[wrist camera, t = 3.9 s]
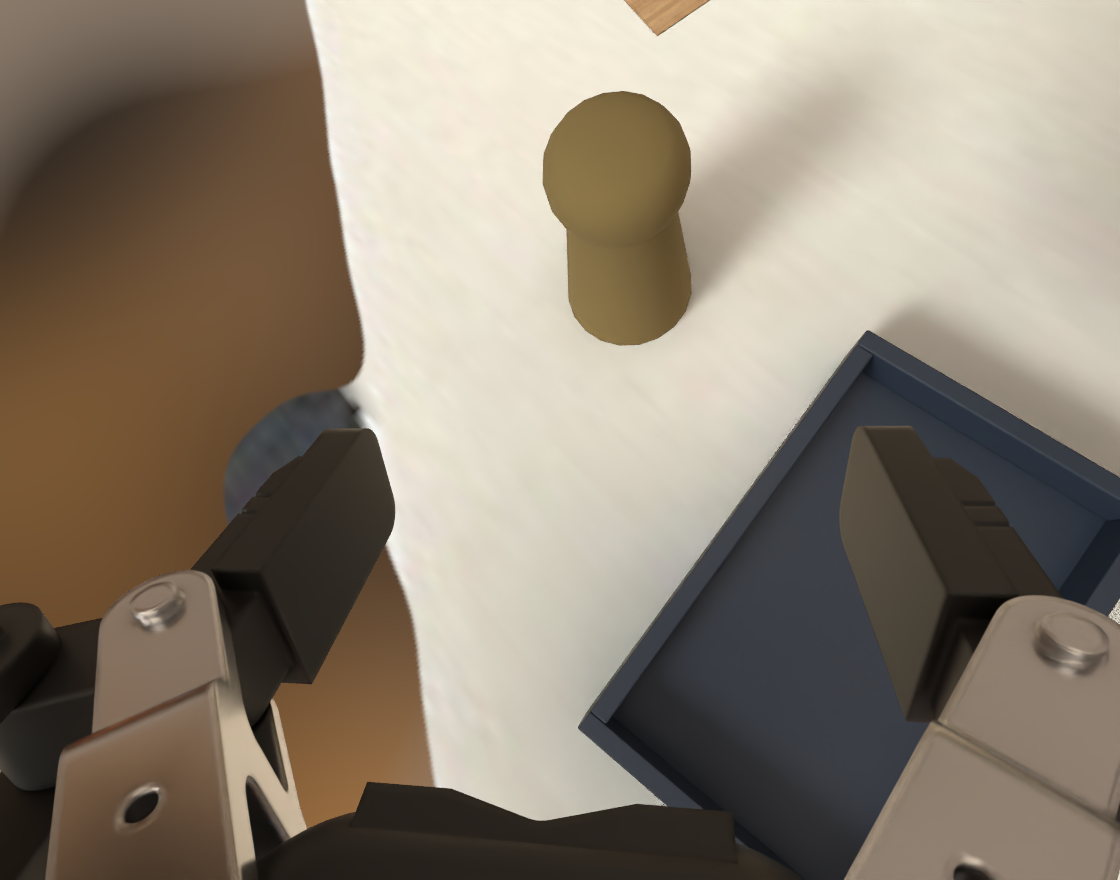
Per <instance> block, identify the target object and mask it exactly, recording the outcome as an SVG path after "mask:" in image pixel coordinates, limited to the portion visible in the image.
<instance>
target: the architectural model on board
mask: <svg viewBox="0 0 1120 880" xmlns="http://www.w3.org/2000/svg"><path fill="white" fill-rule="evenodd" d="M625 1H626V2H627V3H628V4H629V5H630V7H631V8H632V9H633V10H634V11H635V12H636V13H637V14H638V15H639V16H640V18H641V19H642V20H643V21H644V22H645V23H646V24H647V25H648V26H649V27H650V29H651V30H652V31H653V32H654V33H655V34H656V35H659V34H660V33H662V32H663V31H665V30H666V29H668V28H669V27H670V26H672V25H673V24H675V23H676V22H678V21H679V20H681V19H682V18H684V17H685V16H687V15H688V14H690V13H691V12H692V11H694V10H695V9H697V8H698V7H700V6H701V5H703V4H704V3H706V2H707V1H709V0H625Z"/></svg>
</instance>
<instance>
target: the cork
mask: <svg viewBox="0 0 1120 880" xmlns="http://www.w3.org/2000/svg"><path fill="white" fill-rule="evenodd" d="M690 178H691V153H690V148H689V145H688V142H687V139H686V137H685V134H684V132H683V130H682V127H681V125H680V123H679V121H678V120H677V119H676V118H675V117H674V116H673V115H672V114H671V113H670V112H669V111H668V110H667V109H666V108H665V107H664V106H663V105H661V104H660V103H658V102H656V101H654V100H652V99H650V98H648V97H646V96H645V95H642V94H637V93H631V92H625V91H620V92H610V93H602V94H600V95H597V96H594V97H592V98H589V99H587V100H584V101H583V102H581V103H580V104H579V105H577V106H576V107H574V108H573V109H572V110H570V111H569V112H568V113H567V114H566V115H565V117H564V118H563V119H562V120H561V122H560V123H559V124H558V126H557V127H556V128H555V130H554V131H553V132H552V134H551V136H550V139H549V141H548V144H547V147H546V149H545V152H544V159H543V186H544V189H545V192H546V195H547V198H548V201H549V204H550V207H551V210H552V212H553V213H554V215H555V216H556V217H557V218H558V219H559V221H560V222H561V223H562V224H563V225H564V227H565V228H566V229H567V260H568V293H569V302H570V305H571V308H572V311H573V314H574V316H575V318H576V319H577V320H578V321H579V323H580V324H581V325H582V327H583V328H584V329H585V330H586V331H587V332H589V333H590V334H592V335H593V336H595V337H597V338H598V339H600V340H601V341H605V342H609V343H613V344H616V345H640V344H642V343H645V342H648V341H651V340H654V339H657V338H659V337H660V336H662V335H663V334H664V333H666V332H667V331H669V330H670V329H671V328H673V327H674V326H675V325H676V323H677V322H678V321H679V319H680V318H681V317H682V315H683V314H684V312H685V311H686V308H687V305H688V302H689V299H690V296H691V274H690V269H689V264H688V259H687V254H686V249H685V244H684V239H683V234H682V229H681V224H680V219H679V214H678V211H679V209H680V208H681V206H682V204H683V202H684V199H685V196H686V193H687V190H688V187H689V184H690Z"/></svg>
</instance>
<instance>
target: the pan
mask: <svg viewBox="0 0 1120 880" xmlns="http://www.w3.org/2000/svg"><path fill="white" fill-rule="evenodd" d="M859 426H912V427H913V428H914V429H915V431H916V432H917V434H918V435H919V437H920V438H921V440H922V442H923V443H924V445H925V446H926V448H927V449H928V451H929V453H930V454H931V456H932V457H933V458H951V459H952V460H953V461H955V462H956V463H958V464H959V465H961V466H962V467H963V468H965V469H966V470H968V471H969V472H971V473H972V474H974V475H975V476H976V477H978V478H979V479H980V481H981V482H982V484H983V485H984V486H985V488H986V489H987V491H988V492H989V493H990V495H991V496H992V498H993V499H994V501H995V506H996V507H999V508H1000V509H1001V510H1002V512H1003V513H1004V515H1005V516H1006V518H1007V519H1008V520H1009V526H1010V527H1014V529H1015V530H1016V532H1017V533H1018V535H1019V536H1020V537H1021V539H1022V540H1023V542H1024V543H1025V544H1026V546H1027V547H1028V549H1029V550H1030V552H1031V553H1032V554H1033V556H1034V557H1035V559H1036V560H1037V561H1038V563H1039V564H1040V566H1041V567H1042V569H1043V570H1044V571H1045V573H1046V574H1047V576H1048V577H1049V578H1050V580H1051V581H1052V583H1053V584H1054V586H1055V587H1056V588H1057V590H1058V591H1059V593H1060V594H1061V595H1062V597H1063V598H1064V599H1066V600H1070V601H1073V602H1076V603H1079V604H1082V605H1084V606H1087V607H1089V608H1091V609H1094V610H1096V611H1098V612H1100V613H1102V614H1103V615H1105V616H1107V617H1108V615H1109V614H1110V612H1111V611H1112V609H1113V608H1114V606H1115V605H1116V603H1117V602H1118V600H1119V599H1120V477H1118V476H1116V475H1114V474H1113V473H1111V472H1109V471H1108V470H1106V469H1104V468H1103V467H1101V466H1099V465H1097V464H1096V463H1094V462H1092V461H1091V460H1089V459H1087V458H1085V457H1084V456H1082V455H1080V454H1079V453H1077V452H1075V451H1074V450H1072V449H1070V448H1068V447H1067V446H1065V445H1063V444H1062V443H1060V442H1058V441H1057V440H1055V439H1053V438H1051V437H1050V436H1048V435H1046V434H1045V433H1043V432H1041V431H1039V430H1038V429H1036V428H1034V427H1033V426H1031V425H1029V424H1028V423H1026V422H1024V421H1022V420H1021V419H1019V418H1017V417H1016V416H1014V415H1012V414H1010V413H1009V412H1007V411H1005V410H1004V409H1002V408H1000V407H999V406H997V405H995V404H993V403H992V402H990V401H988V400H987V399H985V398H983V397H981V396H980V395H978V394H976V393H975V392H973V391H971V390H970V389H968V388H966V387H964V386H963V385H961V384H959V383H958V382H956V381H954V380H953V379H951V378H949V377H947V376H946V375H944V374H942V373H941V372H939V371H937V370H935V369H934V368H932V367H930V366H929V365H927V364H925V363H924V362H922V361H920V360H918V359H917V358H915V357H913V356H912V355H910V354H908V353H906V352H905V351H903V350H901V349H900V348H898V347H896V346H895V345H893V344H891V343H889V342H888V341H886V340H884V339H883V338H881V337H879V336H877V335H876V334H874V333H872V332H871V331H868V330H867V331H866V332H865V333H864V334H863V336H862V337H861V338H860V339H859V341H858V342H857V343H856V344H855V345H854V347H853V348H852V349H851V350H850V352H849V353H848V354H847V356H846V357H845V358H844V360H843V361H842V362H841V364H840V365H839V367H838V368H837V369H836V371H835V372H834V373H833V375H832V376H831V378H830V379H829V380H828V382H827V383H826V384H825V386H824V387H823V389H822V390H821V391H820V393H819V394H818V395H817V397H816V398H815V400H814V401H813V402H812V404H811V405H810V406H809V408H808V409H807V411H806V412H805V413H804V415H803V416H802V417H801V419H800V420H799V422H798V423H797V424H796V426H795V427H794V428H793V430H792V431H791V433H790V434H789V435H788V437H787V438H786V439H785V441H784V442H783V444H782V445H781V446H780V448H779V449H778V450H777V452H776V453H775V455H774V456H773V457H772V459H771V460H770V461H769V463H768V464H767V466H766V467H765V468H764V470H763V471H762V472H761V474H760V475H759V476H758V478H757V479H756V481H755V482H754V483H753V485H752V486H751V487H750V489H749V490H748V492H747V493H746V494H745V496H744V497H743V498H742V500H741V501H740V503H739V504H738V505H737V507H736V508H735V509H734V511H733V512H732V514H731V515H730V516H729V518H728V519H727V520H726V522H725V523H724V525H723V526H722V527H721V529H720V530H719V531H718V533H717V534H716V536H715V537H714V538H713V540H712V541H711V542H710V544H709V545H708V547H707V548H706V549H705V551H704V552H703V553H702V555H701V556H700V558H699V559H698V560H697V562H696V563H695V564H694V566H693V567H692V569H691V570H690V571H689V573H688V574H687V575H686V577H685V578H684V579H683V581H682V582H681V584H680V585H679V586H678V588H677V589H676V590H675V592H674V593H673V595H672V596H671V597H670V599H669V600H668V601H667V603H666V604H665V606H664V607H663V608H662V610H661V611H660V612H659V614H658V615H657V617H656V618H655V619H654V621H653V622H652V623H651V625H650V626H649V628H648V629H647V630H646V632H645V633H644V634H643V636H642V637H641V639H640V640H639V641H638V643H637V644H636V645H635V647H634V648H633V650H632V651H631V652H630V654H629V655H628V656H627V658H626V659H625V661H624V662H623V663H622V665H621V666H620V667H619V669H618V670H617V672H616V673H615V674H614V676H613V677H612V678H611V680H610V681H609V682H608V684H607V685H606V687H605V688H604V689H603V691H602V692H601V693H600V695H599V696H598V698H597V699H596V700H595V702H594V703H593V704H592V706H591V707H590V709H589V710H588V711H587V713H586V714H585V716H584V718H583V719H582V721H581V723H580V724H579V726H578V729H579V730H580V731H582V732H583V733H584V734H585V735H586V736H587V737H588V738H590V739H591V740H592V741H593V742H594V743H595V744H597V745H598V746H599V747H600V748H601V749H602V750H603V751H605V752H606V753H607V754H608V755H609V756H610V757H612V758H613V759H614V760H615V761H616V762H617V763H618V764H620V765H621V766H622V767H623V768H624V769H625V770H627V771H628V772H629V773H630V774H631V775H632V776H633V777H635V778H636V779H637V780H638V781H639V782H640V783H642V784H643V785H644V786H645V787H646V788H647V789H648V790H650V791H651V792H652V793H653V794H654V795H655V796H657V797H658V798H659V799H660V800H661V801H662V802H663V803H665V804H666V805H667V806H668V807H680V808H692V809H704V810H717V811H729V812H733V820H734V831H735V842H736V843H738V844H740V845H743V846H746V847H748V848H751V849H754V850H756V851H758V852H760V853H762V854H763V855H765V856H767V857H769V858H771V859H773V860H775V861H777V862H779V863H780V864H782V865H783V866H785V867H787V868H788V869H790V870H791V871H793V872H794V873H796V874H797V875H799V876H800V877H802V878H803V879H804V880H844V878H845V877H846V875H847V873H848V871H849V869H850V867H851V866H852V864H853V862H854V860H855V858H856V856H857V855H858V853H859V851H860V849H861V847H862V845H863V844H864V842H865V840H866V838H867V836H868V834H869V833H870V831H871V829H872V827H873V825H874V823H875V822H876V820H877V818H878V816H879V814H880V812H881V811H882V809H883V807H884V805H885V803H886V802H887V800H888V798H889V796H890V794H891V792H892V791H893V789H894V787H895V785H896V783H897V781H898V780H899V778H900V776H901V774H902V772H903V770H904V769H905V767H906V765H907V763H908V761H909V759H910V758H911V756H912V754H913V752H914V750H915V748H916V747H917V745H918V743H919V741H920V739H921V737H922V736H923V734H924V732H925V730H926V729H927V727H928V726H929V724H930V723H925V722H908V721H906V720H905V717H904V715H903V712H902V709H901V706H900V703H899V701H898V698H897V695H896V692H895V689H894V686H893V684H892V681H891V678H890V675H889V672H888V670H887V667H886V664H885V661H884V658H883V655H882V653H881V650H880V647H879V644H878V641H877V639H876V636H875V633H874V630H873V627H872V625H871V622H870V619H869V616H868V613H867V610H866V608H865V605H864V602H863V599H862V596H861V594H860V591H859V588H858V585H857V582H856V579H855V577H854V574H853V571H852V568H851V565H850V563H849V560H848V557H847V554H846V551H845V548H844V546H843V542H842V538H841V533H840V522H839V512H840V503H841V497H842V492H843V486H844V481H845V475H846V470H847V465H848V459H849V454H850V448H851V443H852V438H853V434H854V432H855V430H856V428H857V427H859Z"/></svg>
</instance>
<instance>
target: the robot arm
mask: <svg viewBox="0 0 1120 880" xmlns="http://www.w3.org/2000/svg"><path fill="white" fill-rule="evenodd" d="M394 520H395V502H394V497H393V493H392V490H391V486H390V482H389V479H388V475H387V472H386V468H385V465H384V461H383V458H382V454H381V450H380V447H379V443H378V440H377V437H376V435H375V434H374V432H373V431H372V430H370V429H367V428H366V429H326V430H325V431H323V432H322V433H321V435H320V436H319V437H318V438H317V439H316V441H315V442H314V443H313V444H312V445H311V447H310V448H309V449H308V450H307V452H306V453H305V454H304V455H303V456H298V457H297V458H295V459H294V460H292V461H291V462H289V463H288V464H286V465H285V466H283V467H282V468H280V469H279V470H277V471H276V472H274V473H273V474H272V475H271V476H270V477H269V479H268V480H267V481H266V482H265V483H264V484H263V486H262V487H261V488H260V489H259V490H258V491H257V493H256V497H252V498H251V499H250V501H249V502H248V503H247V504H246V505H245V506H244V508H243V509H242V514H238V515H237V516H236V517H235V518H234V519H233V520H232V522H231V523H230V524H229V525H228V526H227V528H226V529H225V530H224V531H223V532H222V533H221V534H220V536H219V537H218V538H217V539H216V540H215V541H214V543H213V544H212V545H211V546H210V547H209V549H208V550H207V551H206V552H205V553H204V554H203V555H202V557H201V558H200V559H199V560H198V561H197V562H196V564H195V565H194V566H193V567H192V568H191V570H181V571H174V572H170V573H166V574H163V575H159V576H157V577H154V578H152V579H150V580H147V581H145V582H143V583H142V584H139V585H138V586H136V587H134V588H133V589H131V590H130V591H128V592H127V593H126V594H124V595H123V596H122V597H120V598H119V599H118V600H117V601H116V602H115V603H114V604H113V605H112V606H111V607H110V608H109V610H108V611H107V612H106V614H105V615H104V617H103V618H100V619H96V620H90V621H86V622H81V623H76V624H72V625H67V626H63V627H57V628H53V627H52V625H51V624H50V623H49V622H48V620H47V619H46V617H45V616H44V614H43V613H42V612H41V610H40V609H39V608H38V607H37V606H35V605H33V604H29V603H11V604H5V605H1V606H0V770H1V773H0V880H804V879H803V878H802V877H800V876H799V875H797V874H796V873H794V872H793V871H791V870H790V869H788V868H787V867H785V866H783V865H782V864H780V863H779V862H777V861H775V860H773V859H771V858H769V857H767V856H765V855H763V854H762V853H760V852H758V851H756V850H754V849H751V848H748V847H746V846H743V845H740V844H738V843H736V842H735V831H734V820H733V812H729V811H717V810H704V809H692V808H680V807H668V806H656V805H643V804H634V805H629V806H623V807H618V808H612V809H607V810H602V811H596V812H591V813H585V814H580V815H575V816H569V817H564V818H558V819H553V820H547V821H536V820H532V819H528V818H526V817H523V816H520V815H518V814H515V813H513V812H510V811H508V810H505V809H502V808H500V807H497V806H495V805H492V804H489V803H487V802H484V801H482V800H479V799H476V798H474V797H471V796H469V795H466V794H464V793H461V792H458V791H456V790H453V789H448V788H436V787H424V786H411V785H399V784H387V783H375V782H367V784H366V787H365V789H364V792H363V795H362V797H361V800H360V802H359V805H358V807H357V810H356V812H353V813H348V814H345V815H342V816H339V817H336V818H333V819H330V820H326V821H324V822H322V823H320V824H317V825H315V826H313V827H310V828H308V829H307V827H306V824H305V821H304V819H303V815H302V812H301V809H300V805H299V801H298V796H297V792H296V787H295V783H294V778H293V774H292V769H291V765H290V760H289V756H288V751H287V747H286V743H285V738H284V734H283V729H282V725H281V720H280V716H279V711H278V708H277V706H276V704H275V702H274V700H273V696H274V694H275V692H276V691H277V689H278V688H279V686H280V684H281V683H299V684H312V683H313V681H314V679H315V677H316V675H317V673H318V672H319V670H320V668H321V666H322V664H323V662H324V660H325V658H326V656H327V654H328V652H329V650H330V649H331V647H332V645H333V643H334V641H335V639H336V637H337V635H338V633H339V632H340V630H341V627H342V626H343V624H344V622H345V620H346V618H347V616H348V614H349V612H350V610H351V609H352V607H353V605H354V603H355V601H356V599H357V597H358V595H359V593H360V591H361V590H362V588H363V586H364V584H365V582H366V580H367V578H368V576H369V574H370V572H371V570H372V569H373V567H374V565H375V563H376V561H377V559H378V557H379V555H380V553H381V552H382V550H383V548H384V546H385V544H386V542H387V540H388V538H389V536H390V534H391V532H392V529H393V526H394ZM839 522H840V533H841V538H842V542H843V546H844V548H845V551H846V554H847V557H848V560H849V563H850V565H851V568H852V571H853V574H854V577H855V579H856V582H857V585H858V588H859V591H860V594H861V596H862V599H863V602H864V605H865V608H866V610H867V613H868V616H869V619H870V622H871V625H872V627H873V630H874V633H875V636H876V639H877V641H878V644H879V647H880V650H881V653H882V655H883V658H884V661H885V664H886V667H887V670H888V672H889V675H890V678H891V681H892V684H893V686H894V689H895V692H896V695H897V698H898V701H899V703H900V706H901V709H902V712H903V715H904V717H905V720H906V721H908V722H925V723H930V724H929V726H928V727H927V729H926V730H925V732H924V734H923V736H922V737H921V739H920V741H919V743H918V745H917V747H916V748H915V750H914V752H913V754H912V756H911V758H910V759H909V761H908V763H907V765H906V767H905V769H904V770H903V772H902V774H901V776H900V778H899V780H898V781H897V783H896V785H895V787H894V789H893V791H892V792H891V794H890V796H889V798H888V800H887V802H886V803H885V805H884V807H883V809H882V811H881V812H880V814H879V816H878V818H877V820H876V822H875V823H874V825H873V827H872V829H871V831H870V833H869V834H868V836H867V838H866V840H865V842H864V844H863V845H862V847H861V849H860V851H859V853H858V855H857V856H856V858H855V860H854V862H853V864H852V866H851V867H850V869H849V871H848V873H847V875H846V877H845V878H844V880H1117V878H1118V874H1119V870H1120V624H1118V623H1117V622H1115V621H1114V620H1112V619H1111V618H1109V617H1107V616H1105V615H1103V614H1102V613H1100V612H1098V611H1096V610H1094V609H1091V608H1089V607H1087V606H1084V605H1082V604H1079V603H1076V602H1073V601H1070V600H1066V599H1064V598H1063V597H1062V595H1061V594H1060V593H1059V591H1058V590H1057V588H1056V587H1055V586H1054V584H1053V583H1052V581H1051V580H1050V578H1049V577H1048V576H1047V574H1046V573H1045V571H1044V570H1043V569H1042V567H1041V566H1040V564H1039V563H1038V561H1037V560H1036V559H1035V557H1034V556H1033V554H1032V553H1031V552H1030V550H1029V549H1028V547H1027V546H1026V544H1025V543H1024V542H1023V540H1022V539H1021V537H1020V536H1019V535H1018V533H1017V532H1016V530H1015V529H1014V527H1010V526H1009V520H1008V519H1007V518H1006V516H1005V515H1004V513H1003V512H1002V510H1001V509H1000V508H999V507H996V506H995V501H994V499H993V498H992V496H991V495H990V493H989V492H988V491H987V489H986V488H985V486H984V485H983V484H982V482H981V481H980V479H979V478H978V477H976V476H975V475H974V474H972V473H971V472H969V471H968V470H966V469H965V468H963V467H962V466H961V465H959V464H958V463H956V462H955V461H953V460H952V459H951V458H933V457H932V456H931V454H930V453H929V451H928V449H927V448H926V446H925V445H924V443H923V442H922V440H921V438H920V437H919V435H918V434H917V432H916V431H915V429H914V428H913V427H912V426H859V427H857V428H856V430H855V432H854V434H853V438H852V443H851V448H850V454H849V459H848V465H847V470H846V475H845V481H844V486H843V492H842V497H841V503H840V512H839Z"/></svg>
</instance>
